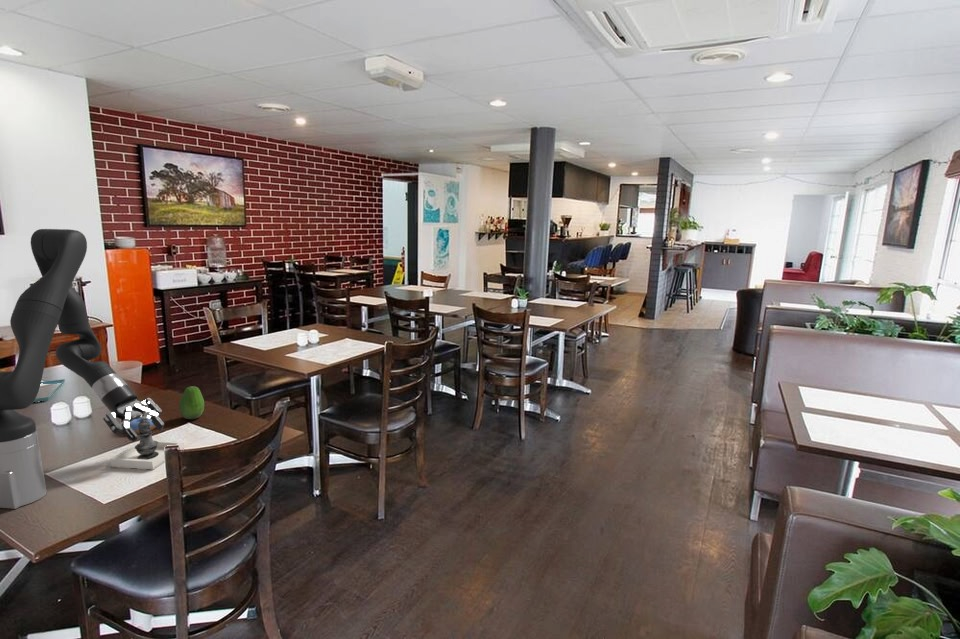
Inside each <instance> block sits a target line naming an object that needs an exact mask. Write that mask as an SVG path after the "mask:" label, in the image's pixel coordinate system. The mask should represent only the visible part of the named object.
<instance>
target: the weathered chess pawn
mask: <svg viewBox="0 0 960 639" xmlns="http://www.w3.org/2000/svg"><path fill="white" fill-rule="evenodd" d="M142 420H143V421H141V422H140V423H139V424H138V427H139V433H138V434H137V435H138V438H139V442H140V443H139V442H138V443H139V444H137V443H136V444H137V445H136V444H135V445H136V446H135V449H136V450H137V452H138V453H139V454H141V455H139V456H138V458H137V459H144V460H148V459H152V458H155V457H156V456H158V454H159V453H158V452H155V450H156V449H157V446H158V442H157V441H158V440H157V441H153V440H154V439H153V435H152V433H153V430H151V429H150V422H149V421H146V420H145V419H144V418H143V419H142Z"/></svg>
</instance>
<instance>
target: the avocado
mask: <svg viewBox="0 0 960 639" xmlns="http://www.w3.org/2000/svg"><path fill="white" fill-rule="evenodd" d="M178 407H179V412H180V414H181V416H182V417H183V418H184V419H187V420H196V419H198V418H199V417H201V416H202V414H203V413H204V409H205V400H204V397H203V394H202V392H201V390H200V388H199V387H197V386H195V385H194V386H188V387H186V388H185V389H184V391H183V393H182V395H181V398H180V401H179V406H178Z"/></svg>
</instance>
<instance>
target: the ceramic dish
mask: <svg viewBox="0 0 960 639" xmlns="http://www.w3.org/2000/svg"><path fill="white" fill-rule="evenodd" d="M153 441H157V442H158V446H157V449H156V450H155V452H158V453H159V454H158V456H156V457H155V458H152V459H148V460H144V459H137V458H138V456H139V455H141V454H139V453H138V452H137V450H136V449H135V446H136V445H137V444H139V443H140V441H139V442H138V443H136V444H133V446H131V447H129V448H127V449H125V450H123V451H122V452H119V453H118V454H116V455H114V456H113V457H110V458H109V465H110V468H114V467H117V468H118V469H130V468H137V469H136V470H146V469H151V470H150V471H154V470H155V469H157V468H158V467H160V466H161V465H163V464H164V447H165V446H167V445H179V446H180V448H181V449H184V450H185V445H184V444H185V443H184V441H172V440H170V441H169V440H157V439H156V440H154V439H153ZM117 468H116V469H117Z"/></svg>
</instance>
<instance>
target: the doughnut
mask: <svg viewBox="0 0 960 639" xmlns="http://www.w3.org/2000/svg"><path fill="white" fill-rule="evenodd" d="M151 416H152V415H151ZM142 419H143V418H138V419H134V420H133V421H131V422H129V428H130V427H131V428H132V429H133V431H134V432H135V433H136V434H137V435H138V433H139V427H138V424H139V423H140V422H141V421H143V420H142ZM145 420H146V421H149V422H150V429H151V431H153V430H154V429H157V427H156V426H155V425H154V424H153V423H152V420H149V419H146V418H145Z"/></svg>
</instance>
